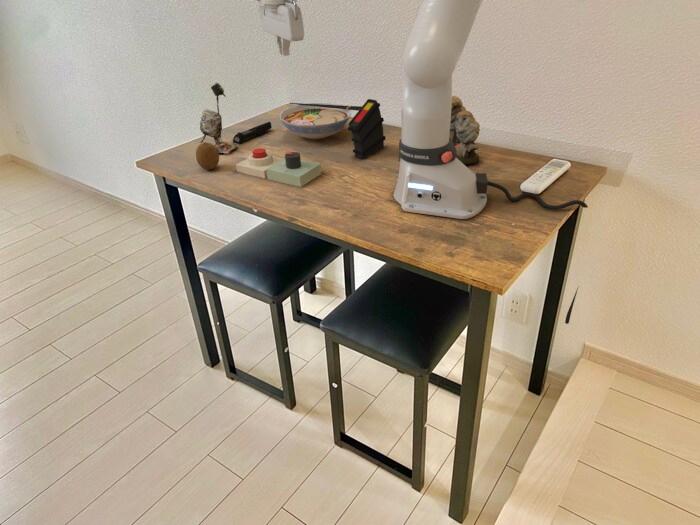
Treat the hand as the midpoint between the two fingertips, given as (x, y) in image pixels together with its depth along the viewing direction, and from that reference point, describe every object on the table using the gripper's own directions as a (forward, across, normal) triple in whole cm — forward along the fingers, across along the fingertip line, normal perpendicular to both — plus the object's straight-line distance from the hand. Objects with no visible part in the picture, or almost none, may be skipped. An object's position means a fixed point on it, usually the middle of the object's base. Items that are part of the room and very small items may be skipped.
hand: (284, 54), depth 134 cm
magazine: (+29, -7, -20) cm, 36 cm away
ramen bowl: (+29, +15, -14) cm, 36 cm away
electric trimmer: (+29, +26, +3) cm, 39 cm away
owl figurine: (+29, -22, -38) cm, 53 cm away
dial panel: (+29, -10, +4) cm, 31 cm away
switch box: (+29, 0, +10) cm, 31 cm away
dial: (+26, -10, +4) cm, 28 cm away
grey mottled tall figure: (+29, +20, +16) cm, 39 cm away
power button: (+26, 0, +10) cm, 27 cm away
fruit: (+29, +8, +23) cm, 38 cm away
